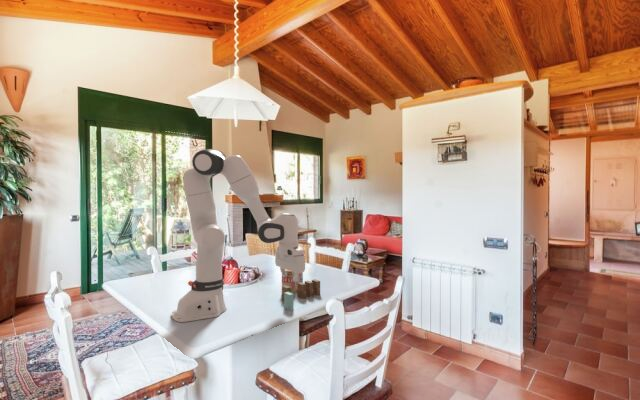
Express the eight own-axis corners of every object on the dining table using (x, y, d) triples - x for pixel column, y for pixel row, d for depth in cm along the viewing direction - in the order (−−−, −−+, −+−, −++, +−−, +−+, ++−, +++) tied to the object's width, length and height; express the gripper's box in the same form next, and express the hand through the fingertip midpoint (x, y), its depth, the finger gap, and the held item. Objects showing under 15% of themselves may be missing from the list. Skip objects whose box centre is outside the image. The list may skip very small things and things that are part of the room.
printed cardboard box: (292, 282, 191) (292, 261, 191) (302, 283, 190) (302, 262, 189) (281, 293, 170) (281, 270, 170) (293, 294, 169) (293, 270, 168)
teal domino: (289, 310, 146) (289, 295, 145) (284, 307, 149) (284, 292, 149) (293, 309, 147) (293, 294, 147) (288, 306, 150) (288, 291, 150)
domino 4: (316, 295, 167) (316, 281, 167) (311, 293, 170) (311, 279, 170) (320, 294, 168) (320, 281, 168) (315, 292, 172) (315, 279, 171)
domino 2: (302, 298, 161) (302, 284, 161) (297, 296, 165) (297, 282, 165) (305, 298, 163) (305, 284, 162) (301, 295, 166) (300, 282, 166)
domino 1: (286, 302, 156) (286, 288, 156) (282, 300, 159) (281, 286, 159) (290, 301, 157) (290, 287, 157) (285, 299, 161) (285, 285, 161)
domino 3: (309, 297, 164) (309, 283, 164) (304, 294, 168) (304, 281, 167) (313, 296, 165) (313, 282, 165) (308, 294, 169) (308, 280, 169)
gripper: (271, 246, 154) (272, 275, 154) (295, 252, 137) (295, 285, 138) (283, 244, 157) (283, 273, 158) (307, 250, 141) (308, 282, 142)
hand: (289, 279), depth 148 cm, fingers open, 8 cm apart
